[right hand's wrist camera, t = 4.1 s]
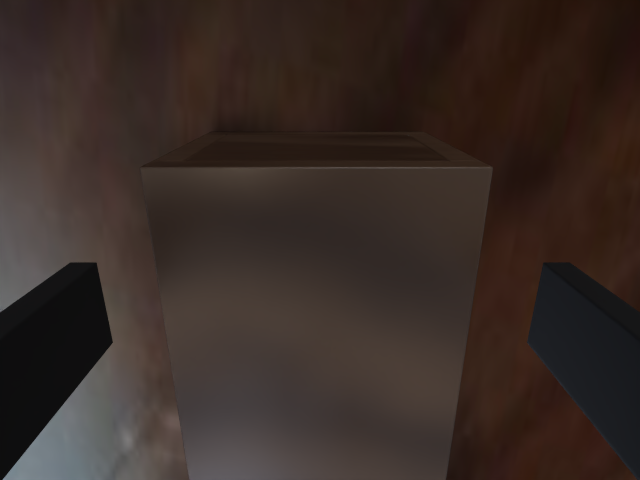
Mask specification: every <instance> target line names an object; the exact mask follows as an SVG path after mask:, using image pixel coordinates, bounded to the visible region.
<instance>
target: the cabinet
mask: <svg viewBox="0 0 640 480" xmlns="http://www.w3.org/2000/svg"><path fill="white" fill-rule="evenodd" d="M140 172H141V178H142V185H143V191H144V197H145V204H146V210H147V216H148V223H149V229H150V235H151V242H152V248H153V254H154V261H155V267H156V273H157V280H158V286H159V292H160V299H161V305H162V311H163V318H164V324H165V330H166V337H167V343H168V349H169V356H170V362H171V369H172V375H173V381H174V388H175V394H176V400H177V407H178V413H179V419H180V426H181V432H182V438H183V445H184V451H185V457H186V464H187V470H188V476H189V480H446V475H447V469H448V462H449V455H450V449H451V442H452V436H453V429H454V422H455V416H456V409H457V403H458V396H459V389H460V383H461V376H462V370H463V363H464V356H465V350H466V343H467V337H468V330H469V323H470V317H471V310H472V304H473V297H474V290H475V284H476V277H477V271H478V264H479V257H480V251H481V244H482V238H483V231H484V224H485V218H486V211H487V205H488V198H489V191H490V185H491V178H492V172H493V167H492V166H490V165H488V164H486V163H484V162H482V161H480V160H478V159H476V158H474V157H472V156H470V155H468V154H466V153H464V152H462V151H460V150H458V149H456V148H454V147H452V146H451V145H449V144H447V143H445V142H443V141H441V140H439V139H437V138H435V137H433V136H431V135H429V134H427V133H425V132H210V133H208V134H206V135H204V136H202V137H200V138H198V139H196V140H194V141H192V142H190V143H188V144H186V145H184V146H182V147H180V148H178V149H176V150H174V151H172V152H170V153H168V154H166V155H164V156H162V157H160V158H158V159H156V160H154V161H152V162H150V163H148V164H146V165H144V166H142V167H140Z"/></svg>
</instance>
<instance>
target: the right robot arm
mask: <svg viewBox="0 0 640 480" xmlns="http://www.w3.org/2000/svg"><path fill="white" fill-rule="evenodd" d="M112 343H113V341H112V336H111V331H110V326H109V322H108V317H107V312H106V307H105V302H104V297H103V292H102V287H101V282H100V277H99V273H98V268H97V263H69V264H68V265H66V266H65V267H63V268H62V269H61V270H59V271H58V272H56V273H55V274H54V275H52V276H51V277H49V278H48V279H47V280H45V281H44V282H42V283H41V284H40V285H38V286H37V287H35V288H34V289H33V290H31V291H30V292H28V293H27V294H26V295H24V296H23V297H21V298H20V299H19V300H17V301H16V302H14V303H13V304H12V305H10V306H9V307H7V308H6V309H5V310H3V311H2V312H0V480H3V478H4V477H5V476H6V475H7V473H8V472H9V471H10V470H11V468H12V467H13V466H14V465H15V464H16V462H17V461H18V460H19V459H20V457H21V456H22V455H23V454H24V452H25V451H26V450H27V449H28V447H29V446H30V445H31V444H32V442H33V441H34V440H35V439H36V437H37V436H38V435H39V434H40V432H41V431H42V430H43V429H44V427H45V426H46V425H47V424H48V422H49V421H50V420H51V419H52V417H53V416H54V415H55V414H56V413H57V411H58V410H59V409H60V408H61V406H62V405H63V404H64V403H65V401H66V400H67V399H68V398H69V396H70V395H71V394H72V393H73V391H74V390H75V389H76V388H77V386H78V385H79V384H80V383H81V381H82V380H83V379H84V378H85V376H86V375H87V374H88V373H89V371H90V370H91V369H92V368H93V366H94V365H95V364H96V363H97V362H98V360H99V359H100V358H101V357H102V355H103V354H104V353H105V352H106V350H107V349H108V348H109V347H110V345H111V344H112ZM527 343H528V344H529V345H530V347H531V348H532V349H533V350H534V352H535V353H536V354H537V355H538V357H539V358H540V359H541V360H542V362H543V363H544V364H545V365H546V366H547V368H548V369H549V370H550V371H551V373H552V374H553V375H554V376H555V378H556V379H557V380H558V381H559V383H560V384H561V385H562V386H563V388H564V389H565V390H566V391H567V393H568V394H569V395H570V396H571V398H572V399H573V400H574V401H575V403H576V404H577V405H578V406H579V408H580V409H581V410H582V411H583V413H584V414H585V415H586V416H587V417H588V419H589V420H590V421H591V422H592V424H593V425H594V426H595V427H596V429H597V430H598V431H599V432H600V434H601V435H602V436H603V437H604V439H605V440H606V441H607V442H608V444H609V445H610V446H611V447H612V449H613V450H614V451H615V452H616V454H617V455H618V456H619V457H620V459H621V460H622V461H623V462H624V464H625V465H626V466H627V467H628V468H629V470H630V471H631V472H632V473H633V475H634V476H635V477H636V478H637V480H640V312H638V311H637V310H635V309H634V308H633V307H631V306H630V305H628V304H627V303H626V302H624V301H623V300H621V299H620V298H619V297H617V296H616V295H614V294H613V293H612V292H610V291H609V290H607V289H606V288H605V287H603V286H602V285H600V284H599V283H598V282H596V281H595V280H593V279H592V278H591V277H589V276H588V275H586V274H585V273H584V272H582V271H581V270H579V269H578V268H577V267H575V266H574V265H572V264H571V263H543V268H542V273H541V277H540V282H539V287H538V292H537V297H536V302H535V307H534V312H533V317H532V322H531V326H530V331H529V336H528V341H527Z"/></svg>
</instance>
